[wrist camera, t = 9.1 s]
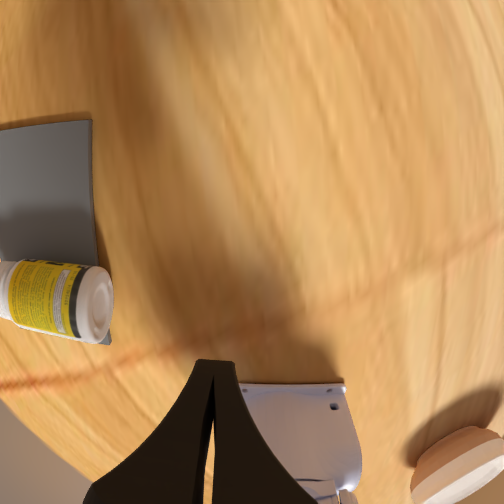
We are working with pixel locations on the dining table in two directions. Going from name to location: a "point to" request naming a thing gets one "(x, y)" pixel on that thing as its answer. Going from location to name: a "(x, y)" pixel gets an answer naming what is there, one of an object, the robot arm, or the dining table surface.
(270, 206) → the dining table surface
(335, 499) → the robot arm
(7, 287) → the supplement bottle
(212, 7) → the dining table surface
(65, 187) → the mat
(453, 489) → the bowl
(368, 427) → the dining table surface
